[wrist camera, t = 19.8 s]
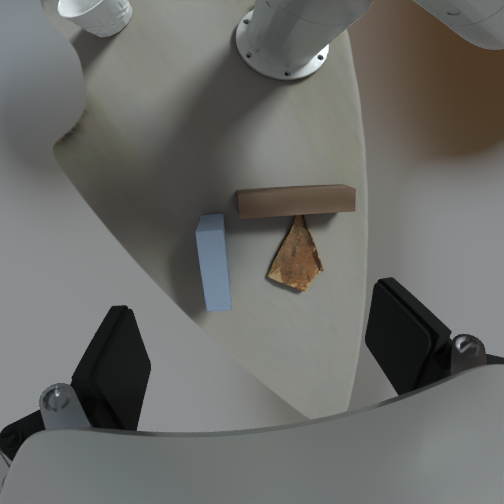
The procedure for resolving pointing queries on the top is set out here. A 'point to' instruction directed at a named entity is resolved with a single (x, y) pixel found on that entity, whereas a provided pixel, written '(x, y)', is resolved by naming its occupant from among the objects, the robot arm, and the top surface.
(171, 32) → the top surface
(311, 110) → the top surface
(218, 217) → the block
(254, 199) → the bar
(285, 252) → the shard
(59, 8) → the white cup
